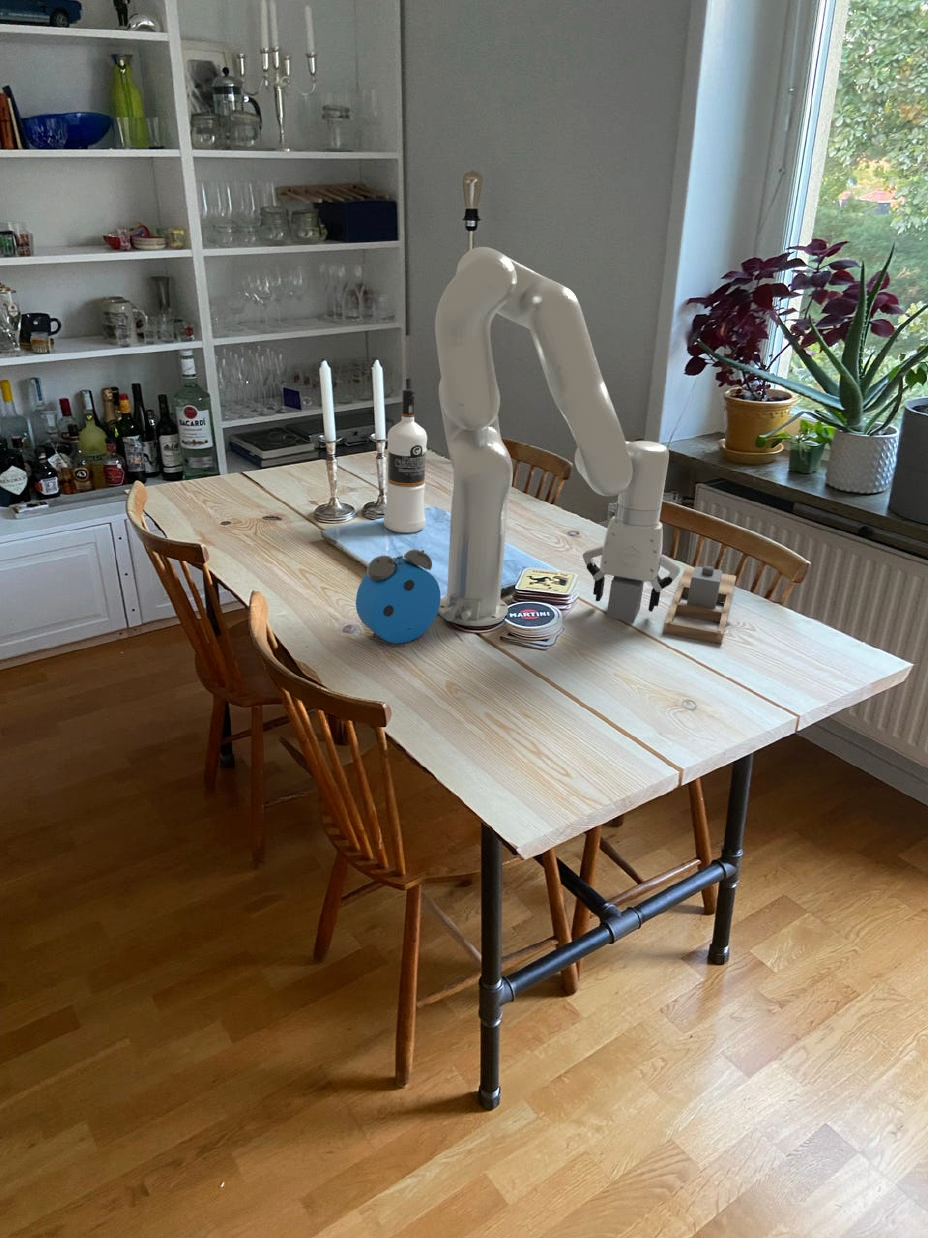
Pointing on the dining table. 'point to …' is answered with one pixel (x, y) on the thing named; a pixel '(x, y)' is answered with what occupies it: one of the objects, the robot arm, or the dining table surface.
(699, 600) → the grey knobbed block
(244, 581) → the dining table surface
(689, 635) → the wooden crate frame
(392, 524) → the vodka
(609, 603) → the plug
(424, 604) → the alarm clock
